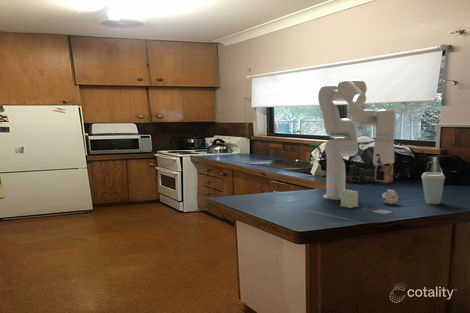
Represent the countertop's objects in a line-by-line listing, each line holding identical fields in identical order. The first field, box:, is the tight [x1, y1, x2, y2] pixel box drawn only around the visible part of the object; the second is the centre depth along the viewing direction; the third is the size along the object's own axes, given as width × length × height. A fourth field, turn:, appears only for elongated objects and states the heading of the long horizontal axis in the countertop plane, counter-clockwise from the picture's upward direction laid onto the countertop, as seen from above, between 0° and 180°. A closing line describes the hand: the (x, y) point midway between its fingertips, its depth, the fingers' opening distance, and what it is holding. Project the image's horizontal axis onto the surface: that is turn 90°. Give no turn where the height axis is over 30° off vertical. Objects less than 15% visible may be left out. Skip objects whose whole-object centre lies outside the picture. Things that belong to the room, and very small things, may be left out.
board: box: [339, 204, 394, 216], centre depth 182 cm, size 14×24×1 cm, turn 39°
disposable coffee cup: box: [421, 171, 446, 205], centre depth 196 cm, size 11×11×15 cm
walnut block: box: [374, 164, 394, 183], centre depth 174 cm, size 6×6×7 cm
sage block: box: [340, 189, 359, 208], centre depth 189 cm, size 6×6×7 cm
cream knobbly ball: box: [379, 187, 401, 206], centre depth 193 cm, size 9×8×10 cm
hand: (383, 178), depth 174 cm, fingers closed on walnut block, 5 cm apart
